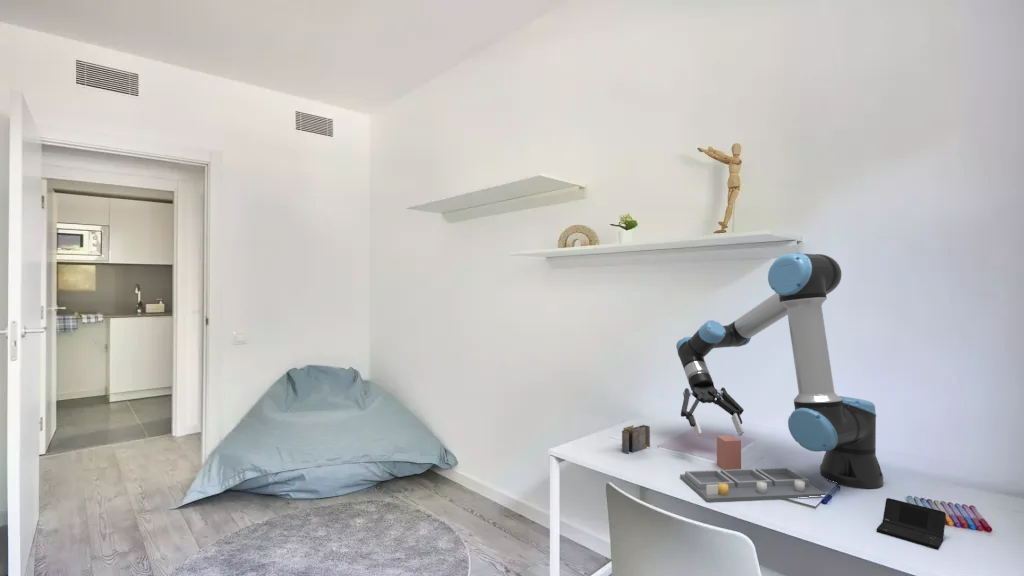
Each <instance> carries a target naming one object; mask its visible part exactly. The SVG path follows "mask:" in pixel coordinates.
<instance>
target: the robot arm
mask: <svg viewBox="0 0 1024 576" xmlns="http://www.w3.org/2000/svg"><path fill="white" fill-rule="evenodd" d="M841 280H842V269H841V266H840V264H838V262H837V261H836V260H835V259H834V258H832V257H831V256H829V255H825V254H819V253H814V254H812V253H802V252H794V253H787V254H783V255H781V256H779V257H777V258H776V260H774V261H773V263H772V264H771V265H770V267H769V269H768V273H767V281H768V282H767V283H768V285H769V287H770V288H771V290H772V291H774V293H773V294H772V295H771V296H769V297H768V298H767V299H765V300H763V301H762V302H760V303H759V304H757V305H756V306H755V307H753V308H752V309H750V310H749V311H747V312H745V313H744V314H743V315H742V316H739V317H738V318H737V319H735V320H734V321H733V322H732V323H729V324H728V325H722V324H721V323H720V322H718V321H715V320H713V319H710V320H707V321H706V322H705V323H703V324H702V325H700V327H699V328H698V329H697V331H696V332H695V333H694V334H693V335H692V336H684V337H682V339H679V340H678V341H677V343H676V351H677V356H678V357H679V360H680V362H681V365H682V368H683V370H684V371H683V372H684V374H685V377H686V379H687V382H688V384H689V387H690V389H689V387H686V388H685V389H684V390H683V392H682V394H683V395H682V396H683V402H682V406H681V411H680V417H685V419H686V420H687V421H688V424H689V426H690V427H691V428H693V429H694V430H693V431H694V433H695V436H696V438H700V437H701V436H702V434H703V432H702V430H701V426H700V424H699V423H700V422H699V420H698V419H697V415H696V414H693V413H694V412H695V410H696V408H697V406H698V405H699V404H700V403H702V404H707V403H708V404H711V403H713V404H714V405H717V406H718V407H720V408H721V409H723V410H724V411H725V412H726V413H728V414H729V415H731V421H732V424H733V425H734V428H735V431H736V434H737V436H738V437H742V436H743V434H744V432H745V430H744V428H743V425H742V424H743V420H742V418H741V416H742V414H743V412H744V410H745V409H744V408H743V407H742V406H741V405H740V404H739V403H738V402H737V401H736V400H735V399H734V398H733V397H732V396H731V395H730V394H729V393H728V392H727V390H726V388H725V387H721V388H718V389H717V388H716V387H715V385H714V383H715V382H714V381H713V378H712V376H711V375H710V371H709V369H708V366H707V363H706V361H705V357H706V356H707V355H708V354H709V353H710V352H712V350H713V349H720V348H733V347H734V348H738V347H742V346H746V345H748V344H749V343H750V341H751V339H752V337H754V336H756V335H757V334H759V333H760V332H762V331H763V330H765V329H767V328H769V327H770V326H772V325H774V324H775V323H776V322H778V321H780V320H781V319H783V318H786V316H787V319H788V325H789V326H788V327H789V333H790V340H791V349H792V355H793V362H794V368H795V376H796V383H797V384H796V385H797V389H798V394H797V395H796V397H794V399H793V406H794V410H793V411H792V412H791V414H790V415H789V416H788V420H787V426H788V430H789V434H790V435H791V436H792V438H793V440H794V441H795V442H796V443H798V444H799V446H801V447H802V448H804V449H806V450H808V451H811V452H817V453H818V452H825V453H824V456H823V459H822V462H821V463H820V466H819V474H821V475H820V476H821V477H822V476H823V477H824V479H825V478H826V480H827V479H828V480H827V481H829V480H831V481H834V482H837V483H838V485H840V486H841V485H842V486H846V487H851V488H858V489H878V488H882V487H883V485H884V475H883V472H882V469H881V466H880V462H879V461H878V457H877V455H876V454H877V453H876V452H877V451H876V450H877V448H876V444H877V443H876V442H877V441H876V439H877V438H876V437H877V436H876V435H877V433H876V431H877V430H876V429H877V426H876V425H877V423H876V422H877V420H876V419H877V413H876V406H875V404H874V403H873V402H872V401H870V400H866V399H860V398H854V397H848V396H842V395H838V394H837V393H836V392H835V387H834V381H833V380H834V379H833V372H832V366H831V360H830V353H829V349H828V348H829V345H828V342H827V341H828V340H827V334H826V327H825V320H824V315H823V307H822V306H823V303H825V301H826V300H827V295H828V294H830V293H831V292H833V291H834V290H835V289H836V288H837V287H838V286H839V284H840V283H841ZM691 396H692V397H694V398H695V400H694V402H693V404H692V406H691V407H690V409H689V411H688V406H689V402H690V398H691ZM823 477H822V478H823ZM831 481H830V482H831ZM834 482H833V483H834ZM837 483H836V484H837Z"/></svg>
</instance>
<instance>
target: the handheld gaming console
mask: <svg viewBox="0 0 1024 576" xmlns="http://www.w3.org/2000/svg"><path fill="white" fill-rule="evenodd" d="M884 504H885V505H884V510H883V516H882V517H883V518H882V521H881V523H880V524H879V525H878V526H877V528H876V529H875V530H876V533H879V534H882V535H885V536H889V537H891V538H895V539H898V540H902V541H906V542H908V543H909V542H910V543H913V544H916V545H919V546H923V547H926V548H931V549H933V550H937V551H938V550H939V549H940V547H941V545H942V544H943V542H944V537H945V536H944V535H945V529H946V527H945V526H946V519H947V518H946V515H947V514H946V512H945V511H944V510H943V511H942V510H940V509H934V508H931V507H926V506H922V505H918V504H914V503H910V502H906V501H902V500H898V499H895V498H890V497H887V498H886V499H885V503H884Z"/></svg>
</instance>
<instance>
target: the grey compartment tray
mask: <svg viewBox="0 0 1024 576" xmlns="http://www.w3.org/2000/svg"><path fill="white" fill-rule="evenodd" d="M679 477H680V480H682V481H683V482H684V483H685V484H686V485H688V486H689V488H690V489H692V490H693V491H694V492H695V493H696V494H698V496H699V497H701V498H702V499H703V500H704V501H706V503H724V502H725V503H726V502H747V501H748V502H750V501H752V502H753V501H768V500H769V501H772V500H773V501H774V500H788V499H787V498H798V497H809V496H821V495H826V496H827V493H826V492H824V491H822V490H821V489H819V488H817V487H816V486H814V485H812V484H811V483H810V479H808V478H806V477H804V476H803V475H802V474H800V473H797V472H796V471H794V470H792V469H791V468H789V467H765V468H755V469H753V468H741V469H733V470H723V469H720V470H718V469H710V470H709V469H708V470H689V471H688V470H686V471H684V473H682V474H680V475H679Z"/></svg>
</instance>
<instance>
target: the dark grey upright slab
mask: <svg viewBox="0 0 1024 576" xmlns="http://www.w3.org/2000/svg"><path fill="white" fill-rule="evenodd" d="M621 433H622V434H621V446H622V448H621V452H622V453H623V454H626V455H629V454H630V451H631V453H632V454H633V453H636V452H639V451H643V450H646V449H648V448H647V447H650V448H651V426H650V425H645V424H640V425H638V426H634V424H632V425H629V426H626V427H623V430H621Z"/></svg>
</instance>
